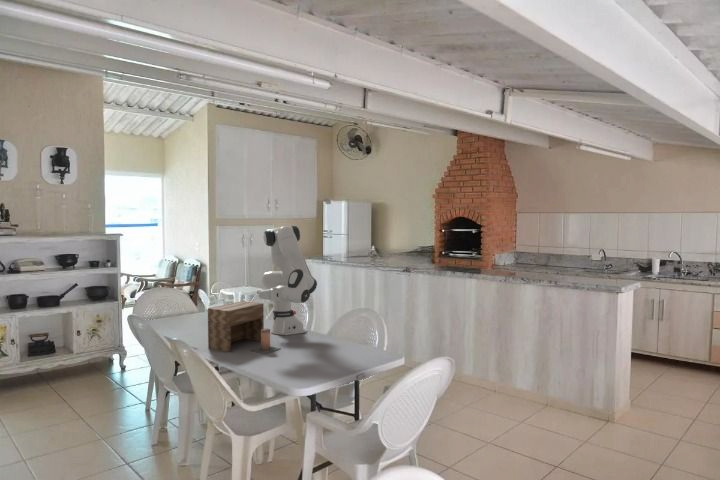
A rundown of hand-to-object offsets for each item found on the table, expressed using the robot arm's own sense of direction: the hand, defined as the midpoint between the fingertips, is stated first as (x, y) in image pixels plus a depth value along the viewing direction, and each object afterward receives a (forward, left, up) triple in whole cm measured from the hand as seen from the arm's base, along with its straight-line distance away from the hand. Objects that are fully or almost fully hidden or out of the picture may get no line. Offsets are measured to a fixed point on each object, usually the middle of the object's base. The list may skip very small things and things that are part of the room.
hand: (263, 290), depth 289 cm
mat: (0, +5, -32) cm, 33 cm away
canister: (0, +5, -32) cm, 33 cm away
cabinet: (+13, -13, -32) cm, 37 cm away
